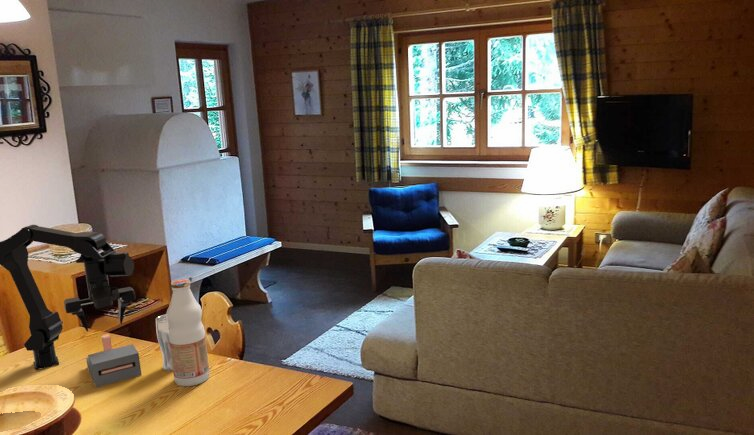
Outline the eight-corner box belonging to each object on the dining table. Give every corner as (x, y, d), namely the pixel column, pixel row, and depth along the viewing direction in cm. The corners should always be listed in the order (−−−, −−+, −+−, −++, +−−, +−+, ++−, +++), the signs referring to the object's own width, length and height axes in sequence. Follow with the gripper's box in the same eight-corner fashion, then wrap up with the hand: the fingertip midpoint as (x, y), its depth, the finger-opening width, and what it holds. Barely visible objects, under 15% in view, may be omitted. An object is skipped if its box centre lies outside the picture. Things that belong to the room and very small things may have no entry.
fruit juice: (181, 390, 164) (168, 289, 158) (169, 378, 171) (157, 281, 166) (215, 379, 169) (204, 281, 164) (202, 368, 177) (191, 274, 171)
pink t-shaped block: (93, 354, 183) (90, 338, 182) (121, 347, 187) (119, 331, 186) (101, 374, 169) (99, 356, 168) (132, 366, 173) (130, 348, 172)
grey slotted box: (87, 367, 182) (84, 346, 181) (130, 356, 188) (127, 335, 187) (95, 387, 169) (92, 364, 167) (141, 375, 175) (138, 352, 173)
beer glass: (190, 361, 182) (184, 312, 179) (180, 371, 176) (174, 321, 173) (167, 361, 183) (161, 313, 180) (157, 371, 176) (150, 322, 173)
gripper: (64, 289, 167) (72, 343, 170) (136, 276, 177) (143, 327, 180) (60, 280, 177) (68, 332, 180) (128, 268, 186) (135, 317, 189)
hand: (104, 327), depth 182 cm, fingers open, 9 cm apart
